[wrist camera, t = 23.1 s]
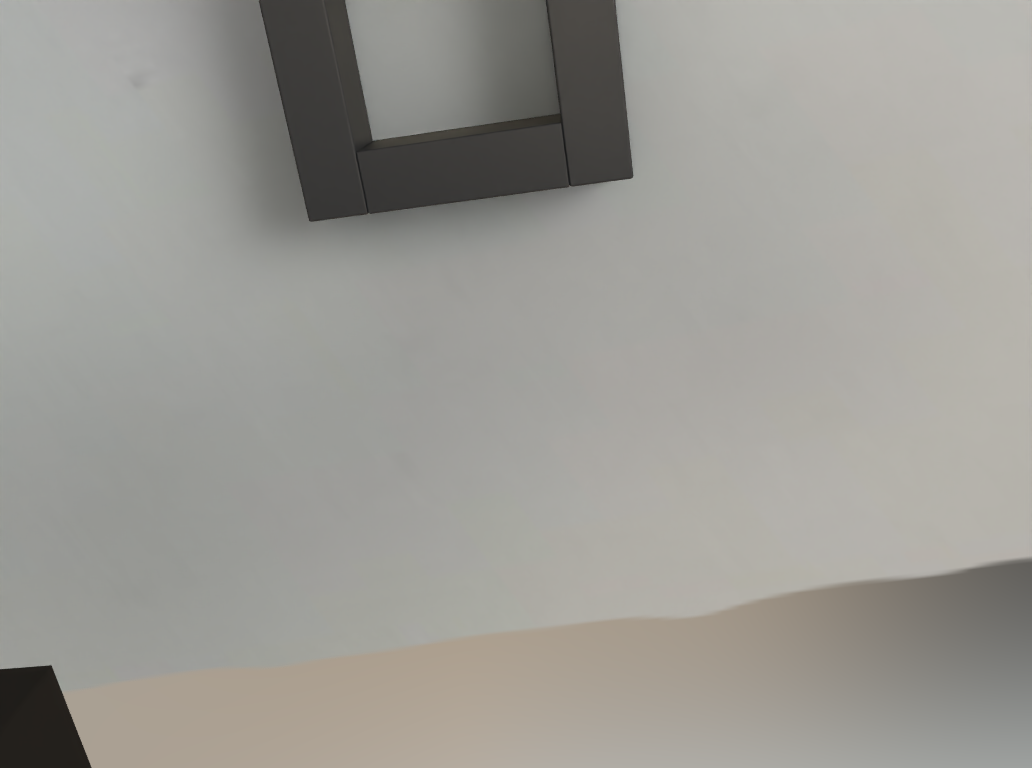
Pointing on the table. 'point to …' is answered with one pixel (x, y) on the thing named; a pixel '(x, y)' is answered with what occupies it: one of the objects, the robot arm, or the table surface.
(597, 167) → the cup holder
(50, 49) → the table surface
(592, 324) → the table surface
